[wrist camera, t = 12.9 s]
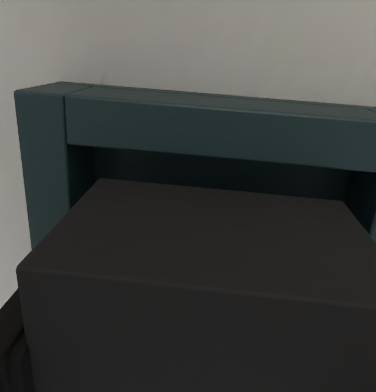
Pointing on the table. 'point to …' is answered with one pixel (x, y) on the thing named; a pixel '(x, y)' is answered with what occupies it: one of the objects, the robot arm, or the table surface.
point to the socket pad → (190, 146)
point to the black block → (200, 294)
